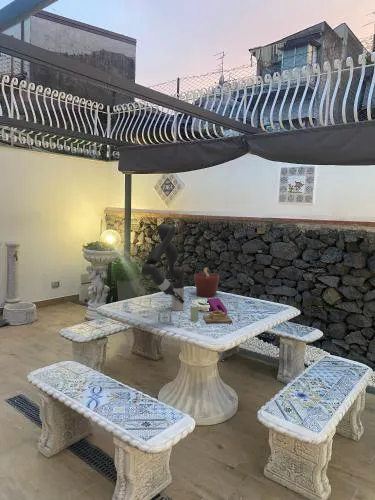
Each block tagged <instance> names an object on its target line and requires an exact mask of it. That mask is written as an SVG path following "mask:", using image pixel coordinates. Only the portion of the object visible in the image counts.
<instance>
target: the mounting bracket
mask: <svg viewBox="0 0 375 500" xmlns="http://www.w3.org/2000/svg"><path fill="white" fill-rule="evenodd" d="M206 303H209V305H210V308H209V313H210V312H213V311H221V312H223V313H225V315H228V314H227V313H228V309H227V307H226V306H225V304H223V302H222V301H221V299H220V298H219V297H212V298H207V301H206Z"/></svg>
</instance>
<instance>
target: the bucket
mask: <svg viewBox="0 0 375 500" xmlns="http://www.w3.org/2000/svg"><path fill="white" fill-rule="evenodd" d="M193 276H194V277H193V278H194V283H195V291H196V296H197V297H198V298H204V299H212V298H215V297H216V296H217V291H218V288H219V287H218V286H219V282H220V277H221V276H220V275H219V274H217V273H212V272H210V269H209V267H204V268H203V272H201V273H194V275H193Z"/></svg>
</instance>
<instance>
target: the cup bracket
mask: <svg viewBox="0 0 375 500" xmlns="http://www.w3.org/2000/svg"><path fill="white" fill-rule="evenodd" d="M202 318H203V320H204V322H205V325H207V324H208V325H210V324H215V325H216V324H217V325H218V324H233V320H232V319H231V317H230V316H229V315H228V314H226V315H225V313H223V312H222V311H214V310H213V312H209V315H202Z"/></svg>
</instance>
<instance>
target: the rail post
mask: <svg viewBox="0 0 375 500" xmlns="http://www.w3.org/2000/svg"><path fill="white" fill-rule="evenodd" d="M189 318H190V321H191V322H197V321H199V306H198V305H197V304H194V305H193V304H192V305H190V316H189Z"/></svg>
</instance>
